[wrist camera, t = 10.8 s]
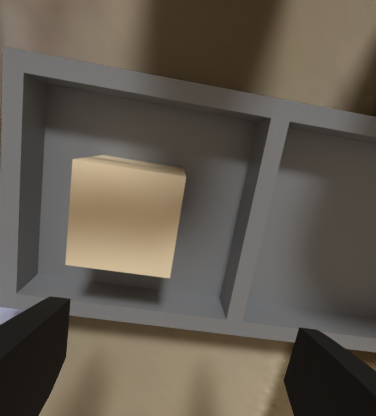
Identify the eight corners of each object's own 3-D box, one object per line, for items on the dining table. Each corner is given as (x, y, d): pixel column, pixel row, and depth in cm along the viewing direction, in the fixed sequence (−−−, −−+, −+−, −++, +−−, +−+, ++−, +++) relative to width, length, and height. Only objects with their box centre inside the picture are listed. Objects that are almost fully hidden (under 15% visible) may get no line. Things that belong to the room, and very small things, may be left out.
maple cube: (171, 242, 18) (169, 278, 13) (95, 232, 18) (65, 265, 13) (183, 167, 17) (186, 176, 12) (102, 155, 17) (72, 159, 12)
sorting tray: (401, 330, 21) (437, 359, 18) (25, 281, 19) (-3, 306, 16) (471, 145, 18) (528, 145, 15) (34, 64, 16) (2, 46, 13)
